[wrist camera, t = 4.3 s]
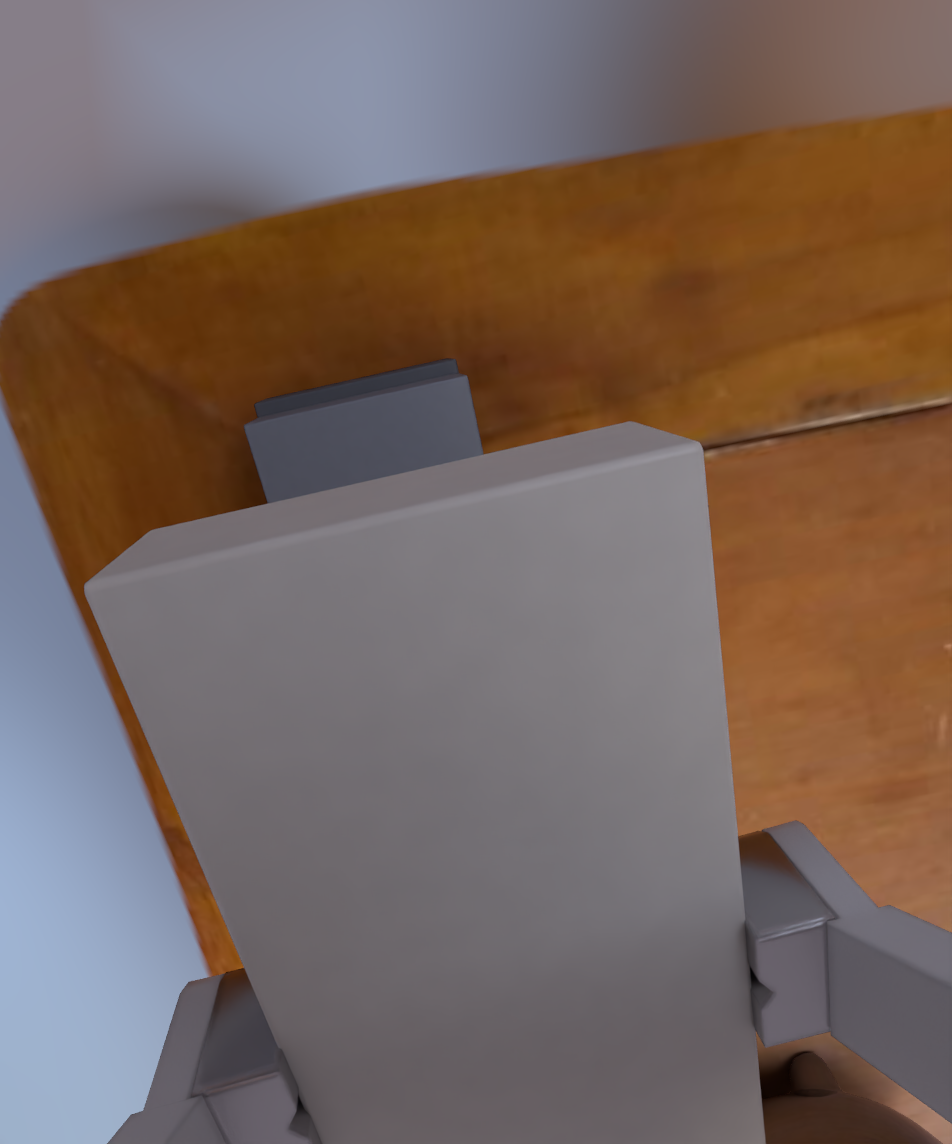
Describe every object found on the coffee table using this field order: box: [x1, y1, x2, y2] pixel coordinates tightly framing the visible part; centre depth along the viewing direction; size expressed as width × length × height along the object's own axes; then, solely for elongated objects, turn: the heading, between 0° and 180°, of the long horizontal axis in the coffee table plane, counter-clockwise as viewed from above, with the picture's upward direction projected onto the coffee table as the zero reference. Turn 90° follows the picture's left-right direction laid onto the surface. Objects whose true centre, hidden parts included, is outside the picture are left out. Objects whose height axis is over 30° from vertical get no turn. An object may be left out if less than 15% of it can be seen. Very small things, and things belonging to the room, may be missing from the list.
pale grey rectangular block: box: [84, 421, 766, 1144], centre depth 9 cm, size 13×6×2 cm, turn 12°
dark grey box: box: [244, 358, 483, 504], centre depth 22 cm, size 14×6×4 cm, turn 12°
